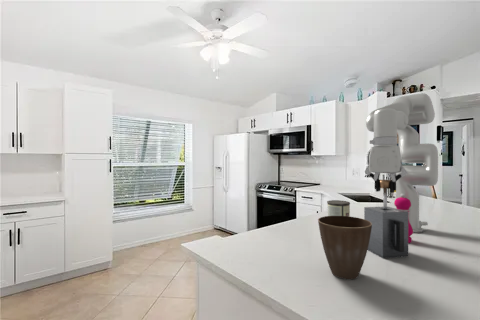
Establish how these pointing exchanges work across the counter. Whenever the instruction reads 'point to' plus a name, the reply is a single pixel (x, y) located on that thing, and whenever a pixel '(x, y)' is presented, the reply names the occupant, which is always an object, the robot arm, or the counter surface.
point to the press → (388, 231)
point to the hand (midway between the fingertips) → (385, 191)
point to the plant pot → (345, 243)
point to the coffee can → (338, 208)
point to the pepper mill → (405, 205)
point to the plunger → (384, 191)
